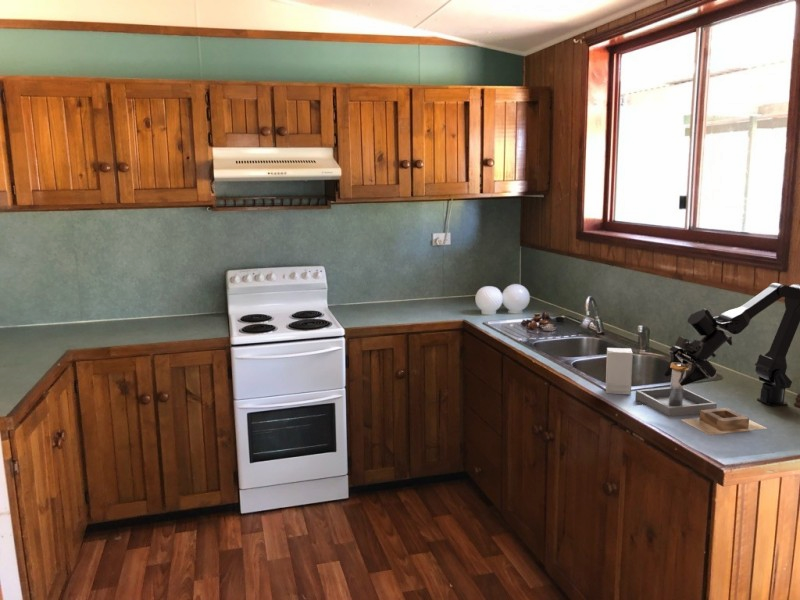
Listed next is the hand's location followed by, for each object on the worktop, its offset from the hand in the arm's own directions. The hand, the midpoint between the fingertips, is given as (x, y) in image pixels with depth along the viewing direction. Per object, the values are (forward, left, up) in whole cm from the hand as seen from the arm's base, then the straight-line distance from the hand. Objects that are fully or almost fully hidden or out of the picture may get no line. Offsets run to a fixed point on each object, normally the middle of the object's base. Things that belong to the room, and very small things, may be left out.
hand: (672, 380), depth 211 cm
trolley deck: (-4, +18, -9) cm, 21 cm away
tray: (-1, 0, -9) cm, 9 cm away
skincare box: (+8, -18, -9) cm, 22 cm away
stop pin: (-2, 0, -8) cm, 8 cm away
